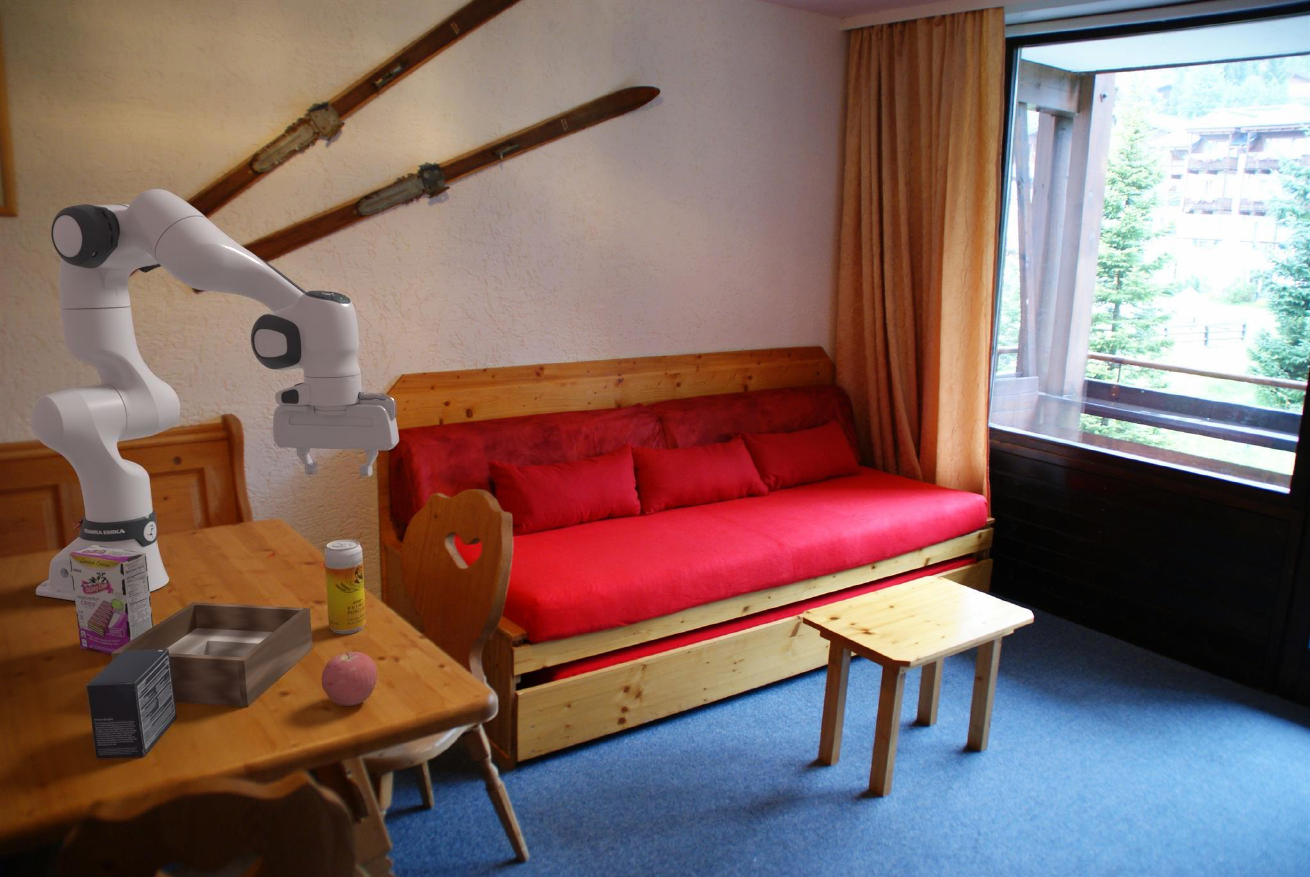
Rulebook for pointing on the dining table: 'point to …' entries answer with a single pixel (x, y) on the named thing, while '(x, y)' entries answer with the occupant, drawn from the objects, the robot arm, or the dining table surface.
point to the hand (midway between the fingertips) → (338, 474)
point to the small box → (131, 703)
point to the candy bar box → (110, 596)
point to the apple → (349, 678)
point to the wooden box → (228, 649)
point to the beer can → (345, 586)
